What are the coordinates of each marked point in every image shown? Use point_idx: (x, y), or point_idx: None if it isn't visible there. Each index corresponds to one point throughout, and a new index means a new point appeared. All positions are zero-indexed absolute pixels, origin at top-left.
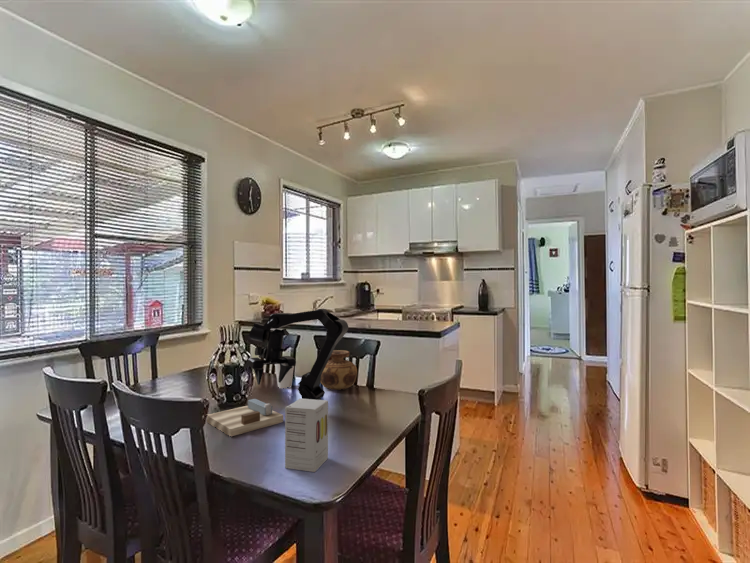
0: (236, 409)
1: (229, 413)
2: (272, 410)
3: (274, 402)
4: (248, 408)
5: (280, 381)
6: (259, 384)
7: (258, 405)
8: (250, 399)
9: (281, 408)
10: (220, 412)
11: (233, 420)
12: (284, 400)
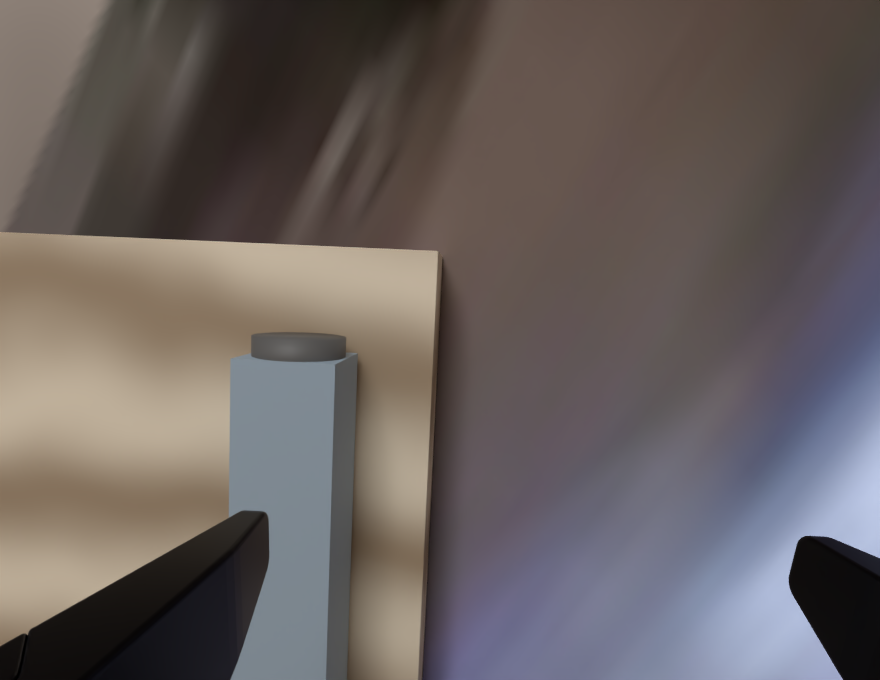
0: (168, 288)
1: (59, 360)
2: (419, 607)
3: (726, 167)
4: None
5: (814, 615)
6: (265, 565)
7: None
8: (275, 346)
9: (643, 414)
10: (6, 257)
11: (4, 580)
12: (857, 185)
